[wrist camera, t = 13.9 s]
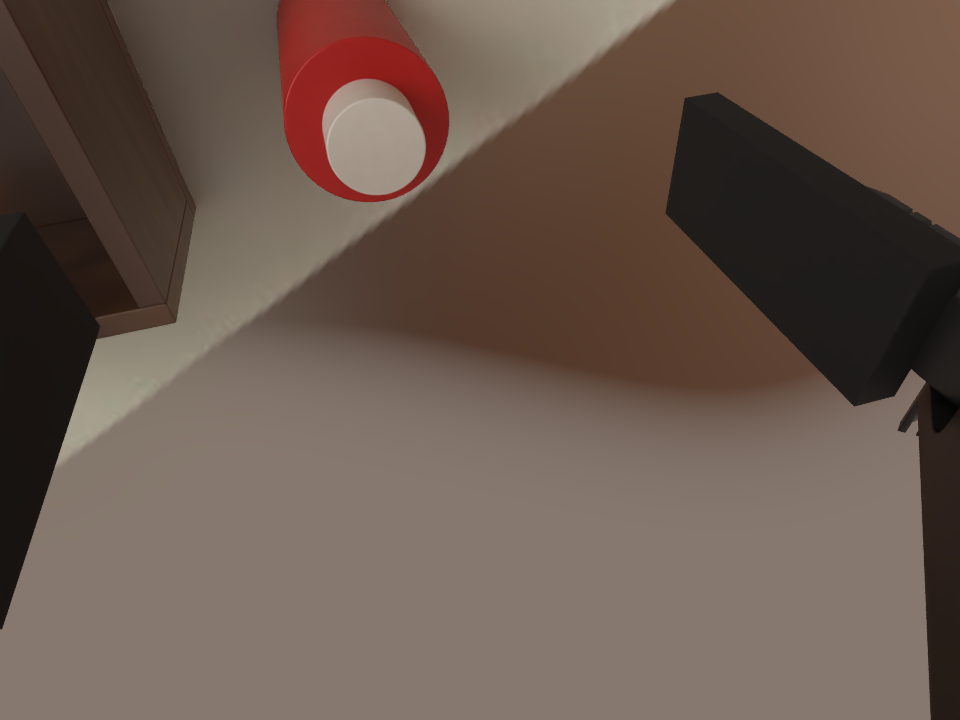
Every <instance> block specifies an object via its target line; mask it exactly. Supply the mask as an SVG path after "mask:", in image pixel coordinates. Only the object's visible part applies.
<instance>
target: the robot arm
mask: <svg viewBox="0 0 960 720" xmlns="http://www.w3.org/2000/svg"><path fill="white" fill-rule="evenodd" d="M666 214H667V215H668V216H669V217H670V218H671V219H672V220H673V221H674V223H675V224H676V225H677V226H678V227H680V229H681V230H682V231H683V232H684V233H685V234H686V235H687V236H688V237H689V238H690V239H691V240H692V241H693V242H694V243H695V244H696V245H697V246H698V247H699V248H700V249H701V250H702V251H703V252H704V253H705V254H706V255H707V256H708V257H709V258H710V259H711V260H712V261H713V262H714V263H715V264H716V266H718V268H720V270H722V272H723V273H724V274H725V275H726V276H728V278H729V279H730V280H731V281H732V282H733V283H734V284H735V285H736V286H737V287H738V288H739V289H740V290H741V291H742V292H743V293H744V294H745V295H746V296H747V297H748V298H749V299H750V300H751V301H752V302H753V303H754V304H755V305H756V306H757V307H758V308H759V309H760V311H761V312H763V314H764V315H765V316H766V317H767V318H768V319H769V320H770V321H771V322H772V323H773V324H774V325H775V326H777V328H778V329H779V330H780V331H781V332H782V333H783V334H784V335H785V336H786V337H787V338H788V339H789V340H790V341H791V342H792V343H793V344H794V345H795V346H796V347H797V348H798V349H799V350H800V351H801V353H803V354H804V356H805V357H806V358H807V359H808V360H809V361H810V362H811V363H812V364H813V365H814V366H815V367H816V368H817V369H818V370H819V371H820V372H821V373H822V374H823V375H824V376H825V377H826V378H827V379H828V380H829V381H830V382H831V383H832V384H833V385H834V386H835V387H836V388H837V389H838V390H839V391H840V392H841V393H842V394H843V395H844V396H845V398H847V400H848V401H849V402H850V403H851V404H853V406H858V405H862V404H866V403H870V402H873V401H877V400H881V399H885V398H889V397H893V396H895V394H896V392H897V391H898V389H899V387H900V386H901V384H902V383H903V381H904V379H905V378H906V376H907V374H908V373H909V371H910V370H911V369H912V370H913V371H914V372H916V373H917V374H918V375H919V376H920V377H921V378H923V379H924V380H925V381H926V383H925V385H924V386H923V388H922V389H921V391H920V393H919V394H918V396H917V397H916V399H915V400H914V402H913V403H912V405H911V406H910V408H909V410H908V411H907V413H906V414H905V416H904V417H903V419H902V420H901V422H900V425H899V428H898V431H901V432H906V431H907V429H908V428H909V426H910V425H911V423H912V422H914V421H916V420H918V428H919V429H918V430H919V431H918V432H917V434H916V436H919V451H920V452H919V453H920V477H921V499H922V500H921V501H922V524H923V547H924V569H925V571H924V572H925V594H926V619H927V642H928V665H929V689H930V713H931V720H960V238H958V237H956V236H955V235H953V234H952V233H950V232H948V231H946V230H945V229H944V228H942V227H940V226H939V225H937V224H935V225H932V223H931V222H932V221H931V220H929V219H928V218H926V217H924V216H923V215H921V214H920V213H918V212H915V213H913V212H912V209H911V208H910V207H908V206H907V205H905V204H904V203H902V202H900V201H899V200H897V199H896V198H894V197H892V196H891V195H889V194H886V193H883V192H881V191H878V190H875V189H872V188H869V187H866V186H864V185H863V184H861V183H860V182H858V181H856V180H855V179H853V178H851V177H850V176H848V175H847V174H845V173H843V172H842V171H840V170H839V169H837V168H836V167H834V166H833V165H831V164H830V163H828V162H826V161H825V160H823V159H822V158H820V157H819V156H817V155H815V154H814V153H812V152H811V151H809V150H807V149H806V148H804V147H803V146H801V145H800V144H798V143H796V142H795V141H793V140H792V139H790V138H789V137H787V136H785V135H784V134H782V133H781V132H779V131H778V130H776V129H774V128H773V127H771V126H770V125H768V124H767V123H765V122H763V121H762V120H760V119H759V118H757V117H756V116H754V115H752V114H751V113H749V112H748V111H746V110H744V109H743V108H741V107H740V106H738V105H737V104H735V103H734V102H732V101H730V100H729V99H727V98H726V97H724V96H722V95H721V94H719V93H718V92H717V93H711V94H706V95H700V96H694V97H688V98H685V101H684V106H683V113H682V118H681V124H680V130H679V136H678V142H677V148H676V154H675V160H674V166H673V172H672V178H671V184H670V190H669V196H668V202H667V208H666ZM99 330H100V325H99V324H98V322H97V321H96V319H95V318H94V316H93V314H92V313H91V311H90V310H89V308H88V307H87V305H86V304H85V302H84V301H83V299H82V298H81V296H80V295H79V293H78V292H77V290H76V289H75V287H74V286H73V284H72V283H71V281H70V280H69V278H68V277H67V275H66V274H65V272H64V271H63V269H62V268H61V266H60V265H59V263H58V262H57V260H56V258H55V257H54V255H53V254H52V252H51V251H50V249H49V248H48V246H47V245H46V243H45V242H44V240H43V239H42V237H41V236H40V234H39V233H38V231H37V230H36V228H35V227H34V225H33V224H32V222H31V221H30V219H29V218H28V216H27V215H26V213H25V212H20V213H15V214H9V215H3V216H0V629H2V628H3V625H4V621H5V618H6V615H7V612H8V609H9V606H10V603H11V600H12V597H13V594H14V591H15V588H16V585H17V582H18V578H19V575H20V572H21V569H22V566H23V563H24V560H25V557H26V554H27V551H28V548H29V545H30V541H31V539H32V535H33V532H34V529H35V526H36V523H37V520H38V517H39V514H40V511H41V508H42V505H43V502H44V498H45V495H46V492H47V489H48V486H49V483H50V480H51V477H52V474H53V471H54V468H55V465H56V462H57V459H58V456H59V452H60V449H61V446H62V443H63V440H64V437H65V434H66V431H67V428H68V425H69V422H70V419H71V416H72V413H73V409H74V406H75V403H76V400H77V397H78V394H79V391H80V388H81V385H82V382H83V379H84V376H85V373H86V370H87V366H88V363H89V360H90V357H91V354H92V351H93V348H94V345H95V342H96V339H97V336H98V333H99Z"/></svg>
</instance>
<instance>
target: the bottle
mask: <svg viewBox="0 0 960 720" xmlns="http://www.w3.org/2000/svg"><path fill="white" fill-rule="evenodd" d="M277 27H278V42H279V57H280V72H281V87H282V101H283V116H284V128H285V134H286V138H287V142H288V144H289V147H290V150H291V152H292V154H293V156H294V158H295V160H296V161H297V163H298V164H299V166H300V167H301V169H302V170H303V171H304V172H305V173H306V174H307V176H308V177H309V178H310V179H312V180H313V181H314V182H315V183H316V184H317V185H319V186H320V187H322V188H323V189H325V190H326V191H328V192H330V193H332V194H334V195H336V196H339V197H342V198H344V199H348V200H353V201H359V202H379V201H385V200H389V199H393V198H396V197H398V196H401V195H403V194H405V193H407V192H409V191H411V190H412V189H414V188H415V187H417V186H418V185H419V184H420V183H421V182H423V181H424V180H425V179H426V178H427V177H428V176H429V174H430V173H431V172H432V171H433V169H434V168H435V166H436V165H437V163H438V162H439V160H440V158H441V156H442V154H443V151H444V148H445V145H446V142H447V137H448V130H449V112H448V106H447V101H446V98H445V94H444V91H443V89H442V87H441V85H440V82H439V81H438V79H437V77H436V76H435V74H434V73H433V71H432V70H431V68H430V67H429V65H428V64H427V62H426V61H425V59H424V58H423V56H422V55H421V53H420V52H419V50H418V49H417V47H416V46H415V44H414V43H413V41H412V40H411V38H410V37H409V35H408V34H407V33H406V31H405V30H404V28H403V27H402V25H401V24H400V22H399V21H398V19H397V18H396V16H395V15H394V13H393V12H392V10H391V9H390V7H389V6H388V4H387V3H386V1H385V0H280V2H279V6H278V12H277Z"/></svg>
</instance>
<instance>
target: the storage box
mask: <svg viewBox="0 0 960 720" xmlns="http://www.w3.org/2000/svg"><path fill="white" fill-rule="evenodd" d="M195 211H196V207H195V205H194V203H193V200H192V198H191V196H190V193H189V191H188V189H187V186H186V184H185V182H184V180H183V177H182V175H181V173H180V170H179V168H178V166H177V163H176V161H175V159H174V156H173V154H172V152H171V150H170V147H169V145H168V143H167V140H166V138H165V136H164V133H163V131H162V129H161V126H160V124H159V122H158V119H157V117H156V115H155V113H154V110H153V108H152V106H151V103H150V101H149V99H148V96H147V94H146V92H145V89H144V87H143V85H142V83H141V80H140V78H139V76H138V73H137V71H136V69H135V66H134V64H133V62H132V59H131V57H130V55H129V52H128V50H127V48H126V46H125V43H124V41H123V39H122V36H121V34H120V32H119V29H118V27H117V25H116V22H115V20H114V18H113V16H112V13H111V11H110V9H109V6H108V4H107V2H106V0H0V216H3V215H9V214H15V213H20V212H25V213H26V215H27V216H28V218H29V219H30V221H31V222H32V224H33V225H34V227H35V228H36V230H37V231H38V233H39V234H40V236H41V237H42V239H43V240H44V242H45V243H46V245H47V246H48V248H49V249H50V251H51V252H52V254H53V255H54V257H55V258H56V260H57V262H58V263H59V265H60V266H61V268H62V269H63V271H64V272H65V274H66V275H67V277H68V278H69V280H70V281H71V283H72V284H73V286H74V287H75V289H76V290H77V292H78V293H79V295H80V296H81V298H82V299H83V301H84V302H85V304H86V305H87V307H88V308H89V310H90V311H91V313H92V314H93V316H94V318H95V319H96V321H97V322H98V324H99V325H100V330H99V333H98V336H97V339H99V338H104V337H109V336H114V335H119V334H123V333H128V332H133V331H138V330H143V329H147V328H152V327H157V326H162V325H167V324H171V323H175V322H176V319H177V313H178V307H179V302H180V296H181V290H182V284H183V279H184V273H185V267H186V262H187V256H188V250H189V244H190V239H191V233H192V227H193V221H194V217H195Z"/></svg>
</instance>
